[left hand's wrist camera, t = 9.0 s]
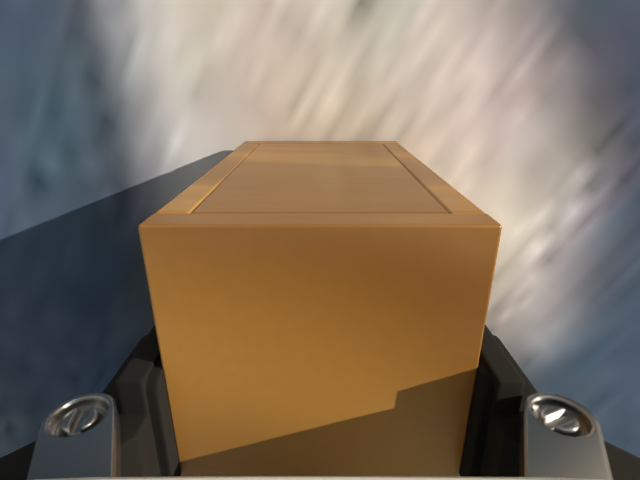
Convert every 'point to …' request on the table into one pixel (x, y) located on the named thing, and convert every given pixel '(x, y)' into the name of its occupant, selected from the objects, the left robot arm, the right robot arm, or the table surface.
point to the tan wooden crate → (320, 312)
